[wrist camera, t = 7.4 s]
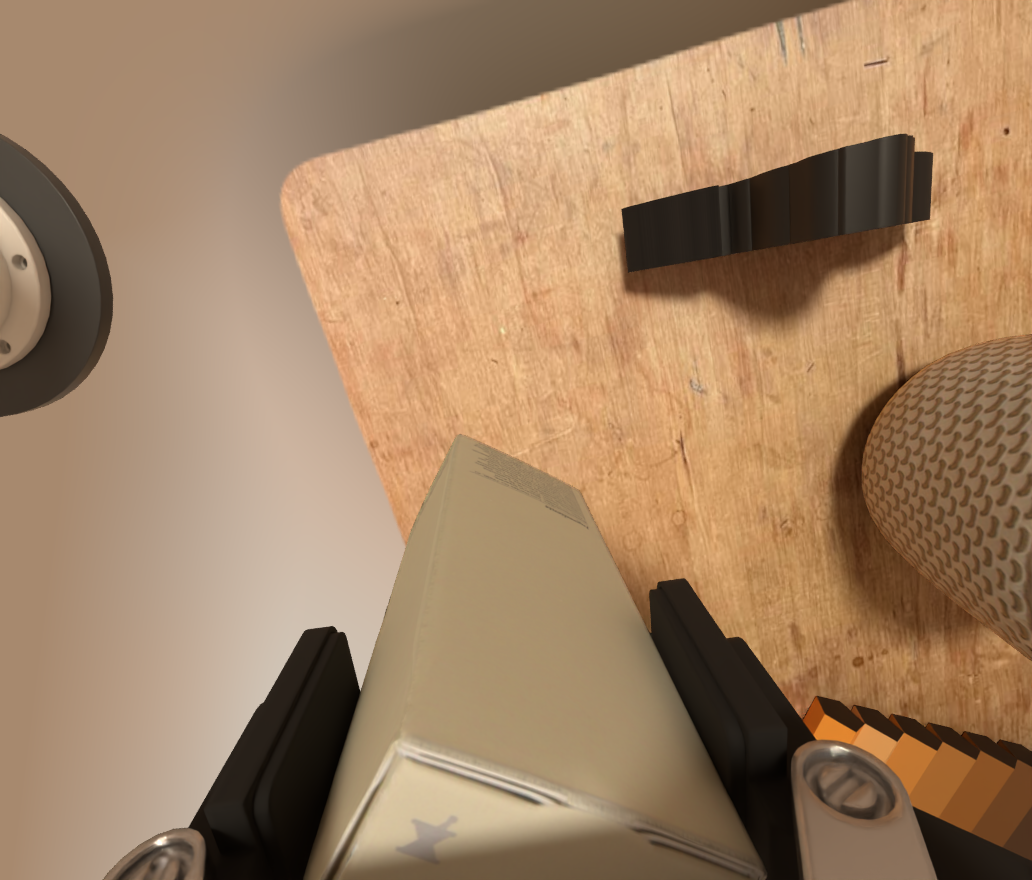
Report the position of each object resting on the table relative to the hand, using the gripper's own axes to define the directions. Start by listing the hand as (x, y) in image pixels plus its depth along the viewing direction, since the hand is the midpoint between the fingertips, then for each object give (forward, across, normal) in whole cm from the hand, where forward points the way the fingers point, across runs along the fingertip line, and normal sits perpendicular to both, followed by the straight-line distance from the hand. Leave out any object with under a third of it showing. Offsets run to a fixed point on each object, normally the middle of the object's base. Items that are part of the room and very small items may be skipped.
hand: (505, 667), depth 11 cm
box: (+8, 0, 0) cm, 8 cm away
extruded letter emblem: (+25, -18, -10) cm, 32 cm away
